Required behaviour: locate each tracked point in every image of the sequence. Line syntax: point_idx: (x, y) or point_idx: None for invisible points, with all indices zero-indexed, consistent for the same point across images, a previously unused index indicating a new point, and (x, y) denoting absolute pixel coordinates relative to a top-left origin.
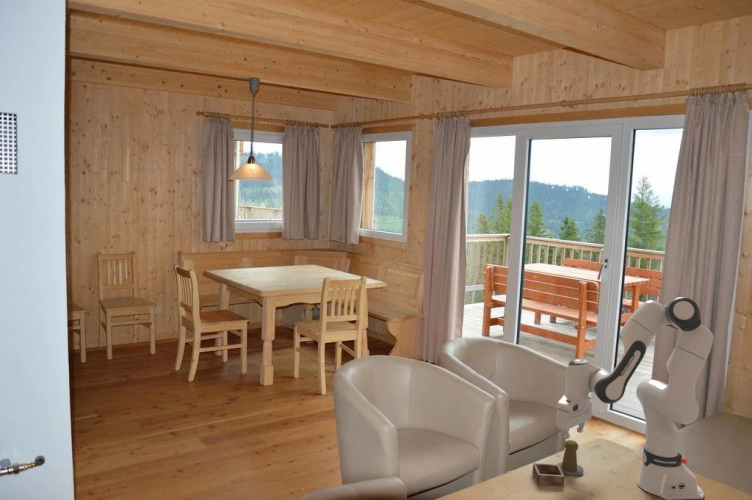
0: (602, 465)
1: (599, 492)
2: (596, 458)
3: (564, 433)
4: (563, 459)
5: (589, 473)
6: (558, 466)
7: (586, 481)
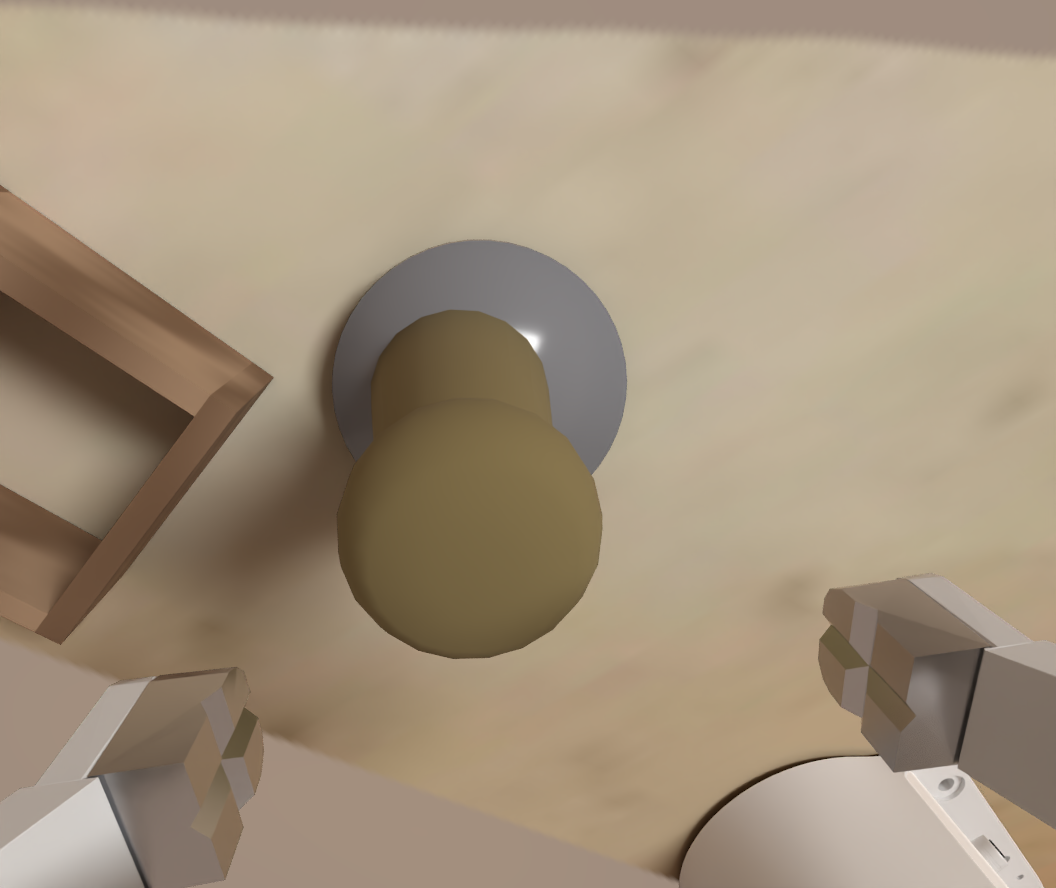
0: (848, 486)
1: (364, 755)
2: (956, 364)
3: (5, 829)
4: (387, 384)
5: None
6: (191, 448)
7: None
